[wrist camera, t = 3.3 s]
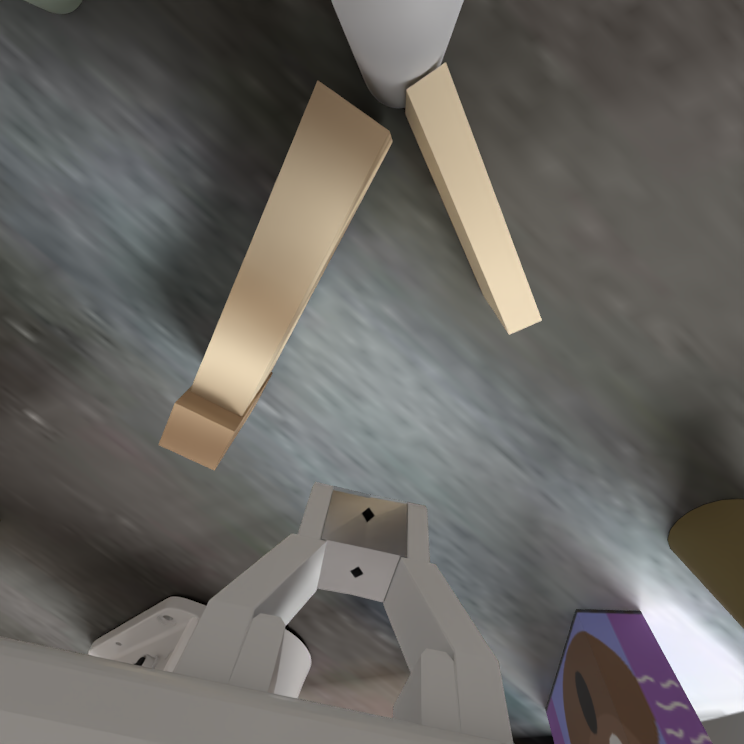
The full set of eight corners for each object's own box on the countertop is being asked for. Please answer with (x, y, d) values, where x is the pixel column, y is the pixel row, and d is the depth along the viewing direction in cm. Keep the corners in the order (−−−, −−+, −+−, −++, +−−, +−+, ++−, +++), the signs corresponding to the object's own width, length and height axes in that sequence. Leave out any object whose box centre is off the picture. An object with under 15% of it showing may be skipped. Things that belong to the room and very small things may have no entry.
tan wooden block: (337, 102, 14) (306, 69, 10) (394, 143, 15) (391, 129, 10) (212, 384, 21) (158, 444, 16) (255, 406, 21) (214, 470, 17)
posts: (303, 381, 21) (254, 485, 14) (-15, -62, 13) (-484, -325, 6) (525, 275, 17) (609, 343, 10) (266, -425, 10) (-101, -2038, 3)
